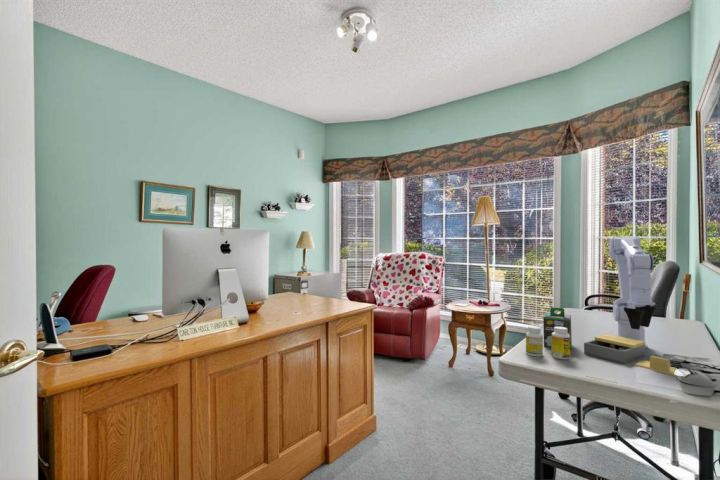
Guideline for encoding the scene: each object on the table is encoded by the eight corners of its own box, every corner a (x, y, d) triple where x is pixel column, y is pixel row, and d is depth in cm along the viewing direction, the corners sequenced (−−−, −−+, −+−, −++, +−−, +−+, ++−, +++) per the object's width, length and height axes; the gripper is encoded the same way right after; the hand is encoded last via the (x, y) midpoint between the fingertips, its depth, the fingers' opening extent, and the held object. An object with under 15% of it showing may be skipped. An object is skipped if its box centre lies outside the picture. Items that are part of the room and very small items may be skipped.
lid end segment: (644, 363, 116) (644, 350, 116) (692, 375, 105) (692, 360, 106) (634, 366, 112) (634, 353, 112) (683, 379, 102) (683, 364, 102)
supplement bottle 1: (540, 357, 118) (540, 329, 119) (523, 354, 122) (524, 327, 122) (544, 354, 123) (544, 327, 123) (528, 351, 126) (528, 324, 126)
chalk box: (571, 344, 135) (571, 306, 135) (571, 350, 127) (571, 310, 127) (544, 341, 140) (545, 304, 140) (542, 346, 132) (543, 307, 132)
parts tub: (607, 346, 132) (607, 333, 132) (645, 355, 122) (645, 341, 122) (584, 353, 124) (584, 339, 124) (623, 363, 113) (623, 348, 113)
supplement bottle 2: (565, 361, 115) (565, 330, 116) (548, 356, 120) (548, 327, 120) (573, 358, 118) (573, 328, 119) (556, 353, 123) (556, 325, 123)
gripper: (645, 291, 113) (645, 332, 113) (662, 288, 120) (663, 327, 120) (620, 288, 119) (620, 328, 119) (638, 286, 126) (638, 323, 126)
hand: (640, 327), depth 120 cm, fingers open, 7 cm apart
